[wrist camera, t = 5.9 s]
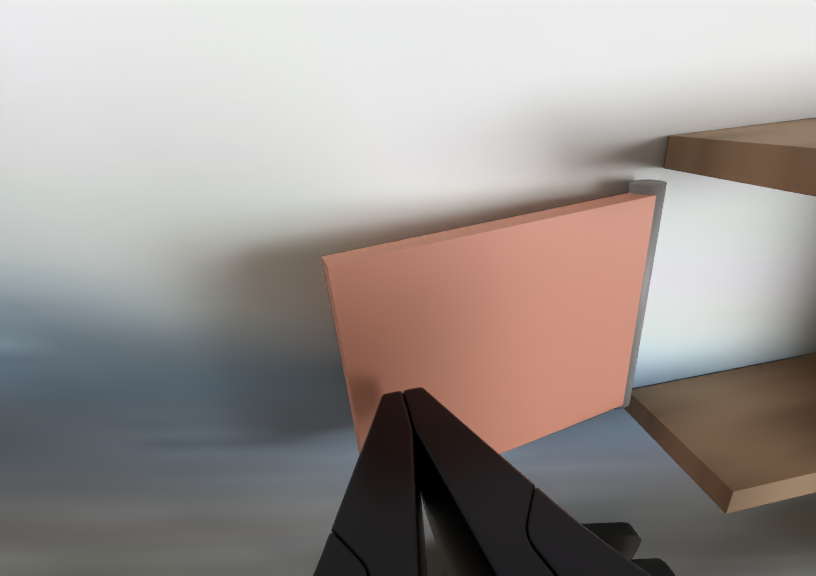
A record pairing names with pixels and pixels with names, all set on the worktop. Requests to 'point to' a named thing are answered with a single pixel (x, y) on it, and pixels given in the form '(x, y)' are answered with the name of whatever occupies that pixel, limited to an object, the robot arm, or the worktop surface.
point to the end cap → (628, 545)
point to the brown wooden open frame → (750, 386)
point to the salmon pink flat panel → (502, 316)
